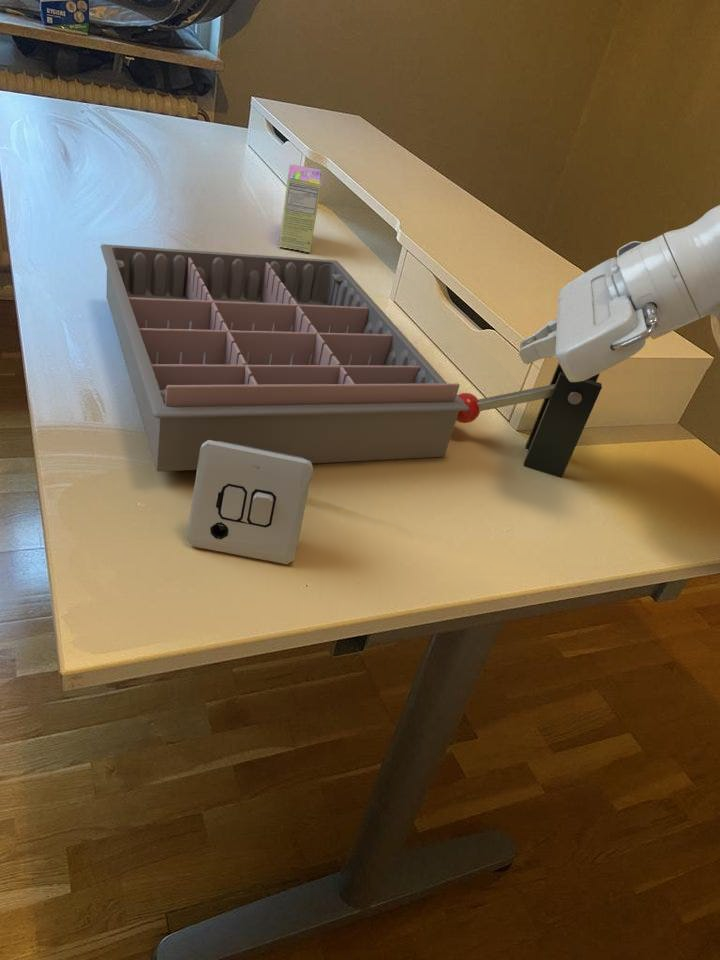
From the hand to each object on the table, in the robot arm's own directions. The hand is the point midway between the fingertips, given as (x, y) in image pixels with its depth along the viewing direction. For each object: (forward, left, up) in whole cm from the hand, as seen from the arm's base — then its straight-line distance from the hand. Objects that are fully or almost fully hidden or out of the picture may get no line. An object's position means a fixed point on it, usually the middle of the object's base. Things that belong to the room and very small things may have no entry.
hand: (521, 353), depth 78 cm
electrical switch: (+20, +27, -13) cm, 36 cm away
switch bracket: (-6, 0, -13) cm, 14 cm away
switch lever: (-2, 0, -6) cm, 7 cm away
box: (+41, -53, -13) cm, 68 cm away
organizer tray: (+28, -1, -13) cm, 31 cm away
